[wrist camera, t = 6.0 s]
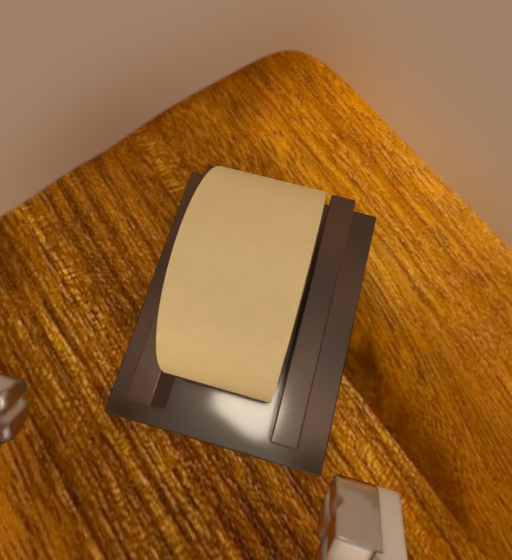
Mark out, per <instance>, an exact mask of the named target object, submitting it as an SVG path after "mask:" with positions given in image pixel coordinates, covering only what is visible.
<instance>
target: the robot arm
mask: <svg viewBox="0 0 512 560" xmlns="http://www.w3.org/2000/svg"><path fill="white" fill-rule="evenodd" d="M25 392H26V384H25V381H23V380H21V379H18V378H15V377H12V376H9V375H6V374H3V373H0V446H1V444H3V443H6V442H8V441H10V440H13V439H14V437H15V436H16V435H17V434H18V433H19V432H20V430H21V429H22V427H23V425H24V423H25V421H26V419H27V414H28V403H27V402H26V401H25V399H24V398H23V397H22V395H23V394H24V393H25ZM317 536H318V538H319V540H320V542H321V543H320V545H319V547H318V549H317V552H316V554H315V560H408V559H407V551H406V543H405V534H404V526H403V518H402V509H401V501H400V496H399V494H398V492H396V491H392V490H389V489H386V488H382V487H379V486H375V485H374V484H370V483H367V482H363V481H360V480H356V479H353V478H349V477H346V476H342V475H339V474H335V475H334V476H333V478H332V480H331V483H330V493H328V494H326V495H325V497H324V499H323V502H322V505H321V509H320V513H319V519H318V527H317Z"/></svg>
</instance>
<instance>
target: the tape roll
mask: <svg viewBox="0 0 512 560" xmlns="http://www.w3.org/2000/svg"><path fill="white" fill-rule="evenodd" d="M325 199H326V192H325V191H321V190H317V189H313V188H309V187H305V186H301V185H296V184H292V183H288V182H284V181H280V180H276V179H272V178H268V177H264V176H260V175H255V174H251V173H247V172H243V171H239V170H235V169H231V168H227V167H223V166H216V167H214V168H212V169H211V170H210V171H209V172H208V173H207V174H206V175H205V177H204V178H203V179H202V181H201V183H200V184H199V186H198V187H197V189H196V191H195V193H194V195H193V197H192V199H191V201H190V203H189V206H188V208H187V210H186V212H185V215H184V217H183V220H182V223H181V225H180V228H179V231H178V234H177V237H176V240H175V243H174V246H173V249H172V253H171V256H170V260H169V263H168V267H167V271H166V275H165V279H164V284H163V289H162V293H161V299H160V305H159V311H158V319H157V330H156V355H157V361H158V365H159V367H160V369H161V370H162V371H163V372H165V373H168V374H172V375H175V376H179V377H182V378H185V379H189V380H192V381H196V382H199V383H203V384H206V385H210V386H213V387H217V388H220V389H224V390H227V391H230V392H234V393H237V394H241V395H244V396H248V397H251V398H255V399H258V400H262V401H265V402H269V403H271V401H272V399H273V396H274V393H275V390H276V386H277V383H278V380H279V376H280V373H281V369H282V366H283V362H284V359H285V357H286V354H287V351H288V348H289V344H290V341H291V338H292V334H293V331H294V327H295V324H296V320H297V316H298V313H299V309H300V305H301V302H302V298H303V294H304V290H305V286H306V282H307V278H308V274H309V271H310V266H311V262H312V258H313V254H314V250H315V245H316V240H317V234H318V230H319V226H320V222H321V217H322V213H323V209H324V204H325Z"/></svg>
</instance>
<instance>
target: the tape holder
mask: <svg viewBox="0 0 512 560" xmlns="http://www.w3.org/2000/svg"><path fill="white" fill-rule="evenodd" d="M214 167H216V166H212V165H207V168H206V171H205V174H204V175H203V174H199V173H195V172H192V173H191V175H190V178H189V181H188V183H187V186H186V189H185V192H184V194H183V197H182V200H181V202H180V205H179V208H178V211H177V213H176V216H175V219H174V222H173V224H172V227H171V230H170V233H169V235H168V238H167V241H166V244H165V246H164V249H163V252H162V254H161V257H160V260H159V263H158V265H157V268H156V271H155V274H154V276H153V279H152V282H151V285H150V287H149V290H148V293H147V296H146V298H145V301H144V304H143V306H142V309H141V312H140V315H139V317H138V320H137V323H136V326H135V328H134V331H133V334H132V337H131V339H130V342H129V345H128V348H127V350H126V353H125V356H124V359H123V361H122V364H121V367H120V369H119V372H118V375H117V378H116V380H115V383H114V386H113V389H112V391H111V394H110V397H109V400H108V402H107V405H106V408H105V412H106V413H110V414H113V415H116V416H120V417H123V418H126V419H130V420H133V421H136V422H140V423H143V424H146V425H150V426H153V427H156V428H160V429H163V430H166V431H170V432H173V433H176V434H179V435H183V436H186V437H189V438H193V439H196V440H199V441H203V442H206V443H209V444H213V445H216V446H219V447H223V448H226V449H229V450H233V451H236V452H239V453H243V454H246V455H249V456H253V457H256V458H259V459H263V460H266V461H269V462H273V463H276V464H279V465H283V466H286V467H289V468H293V469H296V470H299V471H303V472H306V473H309V474H313V475H316V476H321V472H322V468H323V463H324V458H325V454H326V449H327V444H328V440H329V435H330V430H331V426H332V421H333V417H334V412H335V407H336V403H337V398H338V393H339V389H340V384H341V379H342V375H343V370H344V365H345V361H346V356H347V351H348V347H349V342H350V337H351V333H352V328H353V323H354V319H355V314H356V309H357V305H358V300H359V295H360V291H361V286H362V281H363V277H364V272H365V267H366V263H367V258H368V253H369V249H370V244H371V240H372V235H373V230H374V226H375V221H376V217H373V216H369V215H365V214H361V213H357V212H353V210H354V206H355V201H354V200H351V199H347V198H343V197H339V196H334V195H333V196H332V197H331V200H330V203H329V205H325V204H324V209H323V213H322V217H321V222H320V226H319V230H318V234H317V240H316V245H315V250H314V254H313V258H312V262H311V266H310V271H309V274H308V278H307V282H306V286H305V290H304V294H303V298H302V302H301V305H300V309H299V313H298V316H297V320H296V324H295V327H294V331H293V334H292V338H291V341H290V344H289V348H288V351H287V354H286V357H285V359H284V362H283V366H282V369H281V373H280V376H279V380H278V383H277V386H276V390H275V393H274V396H273V399H272V401H271V403H269V402H265V401H262V400H258V399H255V398H251V397H248V396H244V395H241V394H237V393H234V392H230V391H227V390H224V389H220V388H217V387H213V386H210V385H206V384H203V383H199V382H196V381H192V380H189V379H185V378H182V377H179V376H175V375H172V374H168V373H165V372H163V371H162V370H161V369H160V367H159V365H158V361H157V355H156V330H157V319H158V311H159V305H160V299H161V293H162V289H163V284H164V279H165V275H166V271H167V267H168V263H169V260H170V256H171V253H172V249H173V246H174V243H175V240H176V237H177V234H178V231H179V228H180V225H181V223H182V220H183V217H184V215H185V212H186V210H187V208H188V206H189V203H190V201H191V199H192V197H193V195H194V193H195V191H196V189H197V187H198V186H199V184H200V183H201V181H202V179H203V178H204V177H205V175H206V174H207V173H208V172H209V171H210V170H211V169H212V168H214Z"/></svg>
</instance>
